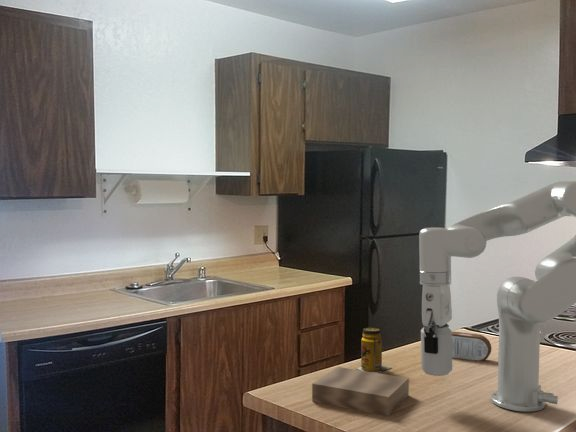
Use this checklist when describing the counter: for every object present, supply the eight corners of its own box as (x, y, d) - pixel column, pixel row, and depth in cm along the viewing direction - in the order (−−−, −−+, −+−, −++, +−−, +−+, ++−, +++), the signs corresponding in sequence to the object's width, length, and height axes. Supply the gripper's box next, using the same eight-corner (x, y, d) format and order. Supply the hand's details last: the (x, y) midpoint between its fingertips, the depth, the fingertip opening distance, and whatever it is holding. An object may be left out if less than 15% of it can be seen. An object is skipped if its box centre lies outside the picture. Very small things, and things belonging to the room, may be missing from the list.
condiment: (354, 369, 178) (355, 329, 178) (372, 363, 184) (373, 324, 183) (374, 374, 173) (374, 333, 172) (392, 368, 179) (392, 328, 178)
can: (429, 365, 154) (428, 319, 153) (457, 370, 149) (456, 323, 149) (415, 373, 148) (415, 325, 148) (444, 379, 143) (443, 329, 143)
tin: (491, 361, 187) (491, 334, 186) (490, 364, 184) (490, 337, 183) (442, 355, 193) (442, 329, 192) (440, 358, 190) (440, 332, 190)
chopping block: (408, 397, 156) (408, 378, 156) (388, 417, 142) (388, 397, 141) (337, 384, 165) (337, 366, 165) (312, 403, 151) (312, 383, 151)
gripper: (440, 284, 138) (441, 360, 139) (460, 273, 153) (460, 342, 154) (408, 282, 142) (409, 356, 143) (431, 272, 157) (432, 339, 158)
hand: (436, 348), depth 148 cm, fingers closed on can, 7 cm apart
